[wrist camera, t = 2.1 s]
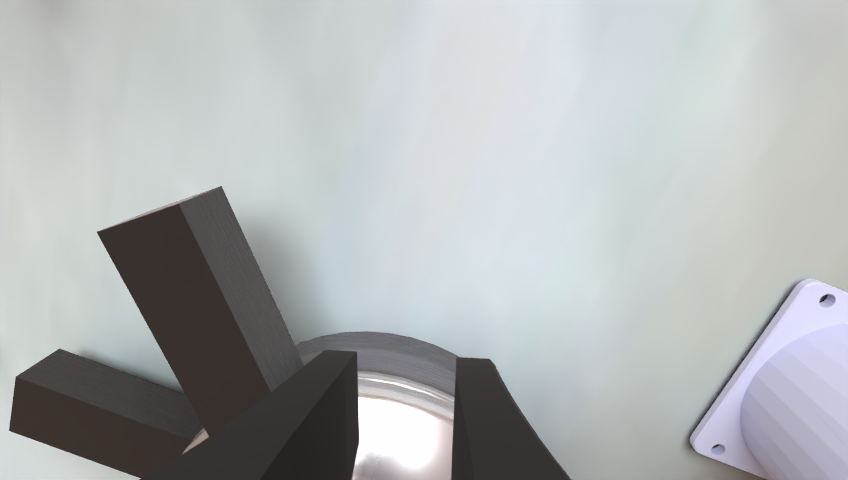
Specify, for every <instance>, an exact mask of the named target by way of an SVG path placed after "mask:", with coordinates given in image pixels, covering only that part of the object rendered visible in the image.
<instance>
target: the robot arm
mask: <svg viewBox="0 0 848 480" xmlns="http://www.w3.org/2000/svg"><path fill="white" fill-rule="evenodd" d="M826 294H827V295H828V296H827V298H826V299H825V300H824V301H823V302H820V303H819V301H820V298H821V297H822V296H824V295H826ZM690 443H691V445H692V447H693V448H694V450H695V451H696V452H697V453H699V454H701V455H704V456H707V457H709V458H712V459H714V460H717V461H720V462H722V463H725V464H727V465H730V466H733V467H735V468H738V469H741V470H743V471H746V472H748V473H751V474H754V475H756V476H759V477H761V478H764V479H767V480H848V292H846V291H843V290H841V289H838V288H836V287H833V286H831V285H828V284H826V283H823V282H821V281H818V280H815V279H806V280H803V281H801V282H799V283H798V284H797V286H796V287H795V288H794V289H793V291H792V292H791V294H790V295H789V296H788V298H787V299H786V301H785V302H784V304H783V305H782V306H781V308H780V309H779V311H778V312H777V314H776V315H775V316H774V318H773V319H772V321H771V322H770V324H769V325H768V326H767V328H766V329H765V331H764V332H763V334H762V335H761V336H760V338H759V339H758V341H757V342H756V343H755V345H754V346H753V348H752V349H751V351H750V352H749V353H748V355H747V356H746V358H745V359H744V361H743V362H742V363H741V365H740V366H739V368H738V369H737V371H736V372H735V373H734V375H733V376H732V378H731V379H730V381H729V382H728V383H727V385H726V386H725V388H724V389H723V391H722V392H721V393H720V395H719V396H718V398H717V399H716V401H715V402H714V403H713V405H712V406H711V408H710V409H709V411H708V412H707V413H706V415H705V416H704V418H703V419H702V421H701V422H700V423H699V425H698V426H697V428H696V429H695V430H694V432H693V433H692V435H691V437H690ZM717 444H720V445H719V446H718V447H715V448H712V447H713V446H714V445H717ZM358 446H359V406H358V367H357V351H340V350H324V351H323V352H321V353H320V354H319V355H317V356H316V357H315V358H314V359H312V360H311V361H310V362H308V363H307V364H306V365H305V366H303V367H302V368H301V369H300V370H298V371H297V372H296V373H295V374H293V375H292V376H291V377H290V378H288V379H287V380H286V381H285V382H283V383H282V384H281V385H279V386H278V387H277V388H276V389H274V390H273V391H272V392H270V393H269V394H268V395H266V396H265V397H264V398H263V399H261V400H260V401H259V402H257V403H256V404H255V405H253V406H252V407H251V408H249V409H248V410H246V411H245V412H244V413H242V414H241V415H239V416H238V417H236V418H235V419H234V420H232V421H231V422H229V423H228V424H226V425H225V426H224V427H222V428H221V429H219V430H218V431H216V432H215V433H213V434H212V435H211V436H209V437H208V438H206V439H205V440H203V441H202V442H201V443H199V444H197V445H196V446H194V447H193V448H191V449H190V450H188V451H187V452H185V453H183V454H182V455H180V456H179V457H177V458H175V459H174V460H172V461H171V462H169V463H167V464H166V465H164V466H162V467H160V468H159V469H157V470H155V471H154V472H152V473H150V474H148V475H147V476H145V477H143V478H142V479H140V480H351V479H352V475H353V471H354V466H355V461H356V456H357V451H358ZM451 480H571V479H570V477H569V476H568V475H567V474H566V472H565V471H564V470H563V469H562V467H561V466H560V465H559V463H558V462H557V461H556V460H555V458H554V457H553V456H552V455H551V453H550V452H549V451H548V449H547V448H546V446H545V445H544V444H543V442H542V441H541V440H540V438H539V437H538V435H537V434H536V432H535V431H534V430H533V428H532V427H531V425H530V424H529V422H528V421H527V419H526V418H525V416H524V415H523V414H522V412H521V410H520V409H519V407H518V406H517V404H516V403H515V401H514V399H513V398H512V396H511V394H510V393H509V391H508V389H507V388H506V386H505V384H504V382H503V380H502V379H501V377H500V375H499V373H498V371H497V369H496V366H495V365H494V364H493V362H492V361H491V360H490V359H479V358H462V357H456V374H455V396H454V419H453V441H452V468H451Z"/></svg>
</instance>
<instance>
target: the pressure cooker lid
mask: <svg viewBox="0 0 848 480" xmlns="http://www.w3.org/2000/svg"><path fill="white" fill-rule="evenodd" d="M97 233H98V235H99V237H100V239H101V241H102V243H103V244H104V246H105V248H106V250H107V252H108V253H109V255H110V257H111V259H112V261H113V263H114V264H115V266H116V268H117V270H118V272H119V274H120V275H121V277H122V279H123V281H124V283H125V284H126V286H127V288H128V290H129V292H130V294H131V295H132V297H133V299H134V301H135V303H136V305H137V306H138V308H139V310H140V312H141V314H142V315H143V317H144V319H145V321H146V323H147V325H148V326H149V328H150V330H151V332H152V334H153V336H154V337H155V339H156V341H157V343H158V345H159V346H160V348H161V350H162V352H163V354H164V356H165V357H166V359H167V361H168V363H169V365H170V367H171V368H172V370H173V372H174V374H175V376H176V377H177V379H178V381H179V383H180V385H181V387H182V388H183V390H184V392H185V394H186V396H187V398H188V399H189V401H190V403H191V405H192V407H193V408H194V410H195V412H196V414H197V416H198V418H199V419H200V421H201V423H202V425H203V427H204V428H203V429H202V430H201V431H200V432H199V433H198V434H197V435H196V437H195V438H194V439H193V440H192V442H191V443H190V444H189V446H188V447H187V448H186V450H185V451H184V452H183V453H185V452H187V451H188V450H190V449H191V448H193V447H194V446H196V445H197V444H199V443H201V442H202V441H203V440H205V439H206V438H208V437H209V436H211V435H212V434H213V433H215V432H216V431H218V430H219V429H221V428H222V427H224V426H225V425H226V424H228V423H229V422H231V421H232V420H234V419H235V418H236V417H238V416H239V415H241V414H242V413H244V412H245V411H246V410H248V409H249V408H251V407H252V406H253V405H255V404H256V403H257V402H259V401H260V400H261V399H263V398H264V397H265V396H266V395H268V394H269V393H270V392H272V391H273V390H274V389H276V388H277V387H278V386H279V385H281V384H282V383H283V382H285V381H286V380H287V379H288V378H290V377H291V376H292V375H293V374H295V373H296V372H297V371H298V370H300V369H301V368H302V367H303V366H304V364H303V362H302V360H301V358H300V355H299V353H298V351H297V349H296V347H295V345H294V342H293V340H292V338H291V336H290V334H289V332H288V329H287V327H286V325H285V323H284V321H283V319H282V316H281V314H280V312H279V310H278V308H277V306H276V303H275V301H274V299H273V297H272V295H271V293H270V290H269V288H268V286H267V284H266V282H265V280H264V277H263V275H262V273H261V271H260V269H259V267H258V264H257V262H256V260H255V258H254V256H253V254H252V251H251V249H250V247H249V245H248V243H247V241H246V238H245V236H244V234H243V232H242V230H241V228H240V225H239V223H238V221H237V219H236V217H235V215H234V212H233V210H232V208H231V206H230V204H229V202H228V199H227V197H226V195H225V193H224V191H223V189H222V186H220V187H218V188H215V189H212V190H209V191H206V192H203V193H200V194H198V195H195V196H192V197H189V198H186V199H183V200H180V201H178V202H175V203H172V204H169V205H166V206H163V207H160V208H158V209H155V210H152V211H149V212H147V213H144V214H141V215H139V216H136V217H134V218H131V219H129V220H126V221H124V222H121V223H119V224H116V225H113V226H111V227H108V228H106V229H103V230H101V231H98V232H97ZM358 406H359V446H358V451H357V456H356V461H355V466H354V471H353V475H352V479H351V480H451V468H452V441H453V419H454V405H452V404H450V403H448V402H446V401H443V400H441V399H438V398H436V397H433V396H431V395H428V394H426V393H423V392H421V391H417V390H414V389H410V388H406V387H403V386H399V385H396V384H392V383H385V382H379V381H372V380H366V379H358Z"/></svg>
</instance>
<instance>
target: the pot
mask: <svg viewBox="0 0 848 480" xmlns="http://www.w3.org/2000/svg"><path fill="white" fill-rule="evenodd" d="M295 347H296V349H297V351H298V353H299V355H300V358H301V360H302V362H303V364H304V366H305V365H306V364H307V363H308V362H310V361H311V360H312V359H314V358H315V357H316V356H317V355H319V354H320V353H321V352H323V351H324V350H340V351H357V367H358V379H366V380H372V381H379V382H385V383H392V384H396V385H399V386H403V387H406V388H410V389H414V390H417V391H421V392H423V393H426V394H428V395H431V396H433V397H436V398H438V399H441V400H443V401H446V402H448V403H450V404H452V405H454V396H455V374H456V357H458V356H456V355H455V354H453V353H451V352H449V351H446V350H444V349H442V348H440V347H437V346H435V345H433V344H430V343H427V342H424V341H420V340H417V339H414V338H411V337H406V336H400V335H395V334H390V333H378V332H346V333H339V334H333V335H327V336H322V337H318V338H315V339H312V340H308V341H305V342H302V343H300V344H298V345H295ZM203 428H204V427H203V425H202V423H201V421H200V419H199V418H198V416H197V414H196V412H195V410H194V408H193V407H192V405H191V403H190V401H189V399H188V398H187V396H186V395H184V394H181V393H178V392H175V391H173V390H170V389H167V388H165V387H162V386H159V385H157V384H154V383H151V382H148V381H146V380H143V379H140V378H138V377H135V376H132V375H129V374H127V373H124V372H121V371H119V370H116V369H113V368H111V367H108V366H105V365H102V364H100V363H97V362H94V361H92V360H89V359H86V358H83V357H81V356H78V355H75V354H73V353H70V352H67V351H65V350H62V349H58V350H57V351H55V352H54V353H52V354H50V355H49V356H47V357H46V358H44V359H43V360H41V361H40V362H38V363H37V364H35V365H33V366H32V367H30V368H29V369H27V370H26V371H24V372H23V373H21V374H19V375H18V376H16V380H15V388H14V396H13V404H12V412H11V420H10V428H9V431H11V432H14V433H17V434H20V435H22V436H25V437H28V438H31V439H33V440H36V441H39V442H42V443H44V444H47V445H50V446H53V447H56V448H58V449H61V450H64V451H67V452H69V453H72V454H75V455H78V456H80V457H83V458H86V459H89V460H92V461H94V462H97V463H100V464H103V465H105V466H108V467H111V468H114V469H116V470H119V471H122V472H125V473H128V474H130V475H133V476H136V477H139V478H141V479H142V478H143V477H145V476H147V475H148V474H150V473H152V472H154V471H155V470H157V469H159V468H160V467H162V466H164V465H166V464H167V463H169V462H171V461H172V460H174V459H175V458H177V457H179V456H180V455H182V454H183V452H184V451H185V450H186V448H187V447H188V446H189V444H190V443H191V442H192V440H193V439H194V438H195V437H196V435H197V434H198V433H199V432H200V431H201V430H202V429H203Z"/></svg>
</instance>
